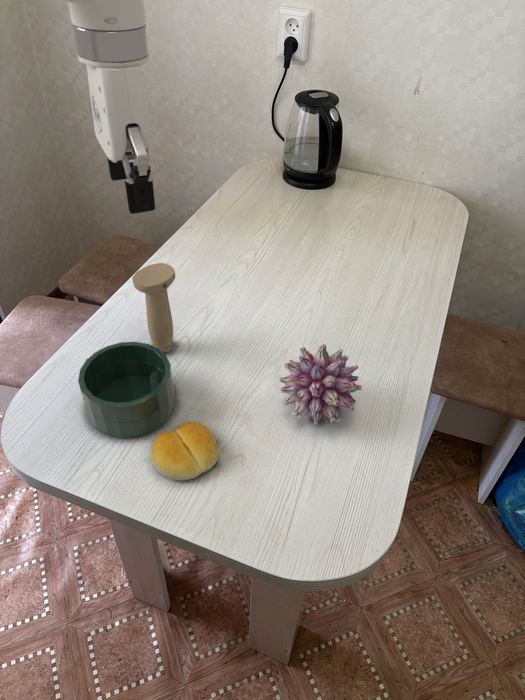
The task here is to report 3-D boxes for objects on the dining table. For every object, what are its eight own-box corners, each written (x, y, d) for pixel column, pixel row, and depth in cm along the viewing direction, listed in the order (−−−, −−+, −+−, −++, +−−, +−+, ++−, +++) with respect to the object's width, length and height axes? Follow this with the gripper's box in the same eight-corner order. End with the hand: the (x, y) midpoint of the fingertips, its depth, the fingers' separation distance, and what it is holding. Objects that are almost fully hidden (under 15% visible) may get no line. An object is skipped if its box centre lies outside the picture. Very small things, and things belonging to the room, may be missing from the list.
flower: (362, 419, 77) (317, 456, 69) (302, 377, 83) (254, 406, 75) (389, 361, 71) (343, 395, 63) (322, 319, 76) (272, 344, 68)
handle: (139, 350, 84) (125, 276, 74) (168, 332, 88) (160, 259, 77) (157, 364, 82) (146, 290, 72) (187, 345, 85) (181, 272, 75)
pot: (98, 450, 70) (89, 418, 65) (80, 387, 78) (70, 355, 73) (185, 421, 74) (182, 389, 69) (160, 365, 82) (155, 332, 77)
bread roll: (143, 448, 70) (139, 430, 67) (201, 423, 74) (200, 405, 71) (166, 494, 65) (163, 477, 62) (228, 465, 69) (228, 448, 66)
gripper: (62, 27, 58) (89, 171, 70) (93, 68, 47) (119, 231, 59) (126, 25, 61) (142, 164, 73) (170, 63, 50) (181, 220, 61)
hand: (132, 194), depth 66 cm, fingers open, 9 cm apart
